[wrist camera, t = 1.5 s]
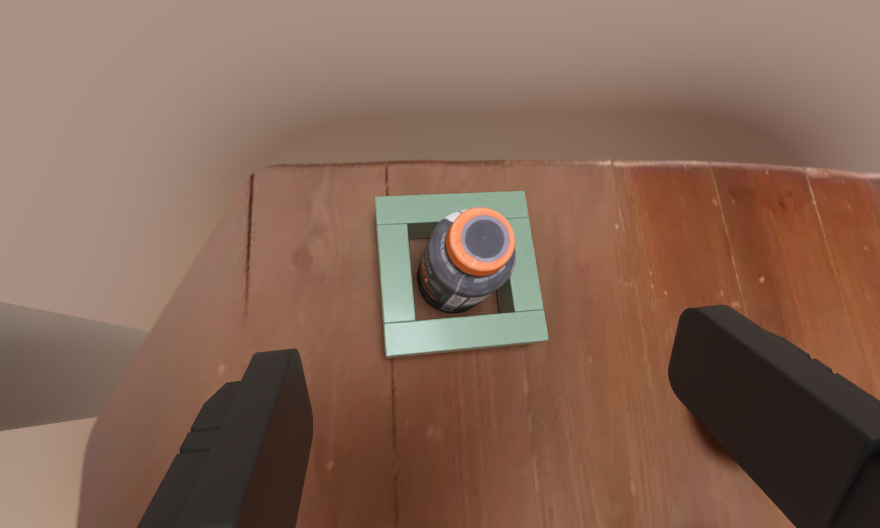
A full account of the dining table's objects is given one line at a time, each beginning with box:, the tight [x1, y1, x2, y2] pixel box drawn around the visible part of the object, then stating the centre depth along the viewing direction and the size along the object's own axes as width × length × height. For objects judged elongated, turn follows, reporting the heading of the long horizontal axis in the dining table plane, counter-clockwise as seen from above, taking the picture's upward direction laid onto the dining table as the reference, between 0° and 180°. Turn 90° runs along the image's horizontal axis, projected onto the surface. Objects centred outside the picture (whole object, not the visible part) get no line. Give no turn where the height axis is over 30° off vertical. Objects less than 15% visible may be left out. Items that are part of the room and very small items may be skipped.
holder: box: [375, 191, 549, 359], centre depth 34 cm, size 12×12×4 cm
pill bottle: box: [417, 207, 516, 313], centre depth 30 cm, size 6×6×11 cm
